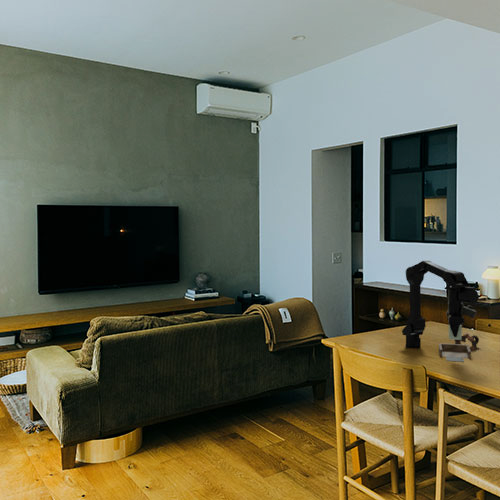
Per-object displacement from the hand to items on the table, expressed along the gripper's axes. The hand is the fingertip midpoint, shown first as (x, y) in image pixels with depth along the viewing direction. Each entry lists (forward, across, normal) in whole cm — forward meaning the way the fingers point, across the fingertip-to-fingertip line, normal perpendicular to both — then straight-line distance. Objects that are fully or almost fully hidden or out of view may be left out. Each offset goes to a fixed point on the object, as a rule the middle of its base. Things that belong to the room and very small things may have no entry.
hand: (454, 335), depth 227 cm
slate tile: (+11, 0, 0) cm, 11 cm away
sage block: (+1, 0, 0) cm, 1 cm away
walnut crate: (+11, +10, 0) cm, 15 cm away
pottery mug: (+11, +25, -8) cm, 28 cm away
